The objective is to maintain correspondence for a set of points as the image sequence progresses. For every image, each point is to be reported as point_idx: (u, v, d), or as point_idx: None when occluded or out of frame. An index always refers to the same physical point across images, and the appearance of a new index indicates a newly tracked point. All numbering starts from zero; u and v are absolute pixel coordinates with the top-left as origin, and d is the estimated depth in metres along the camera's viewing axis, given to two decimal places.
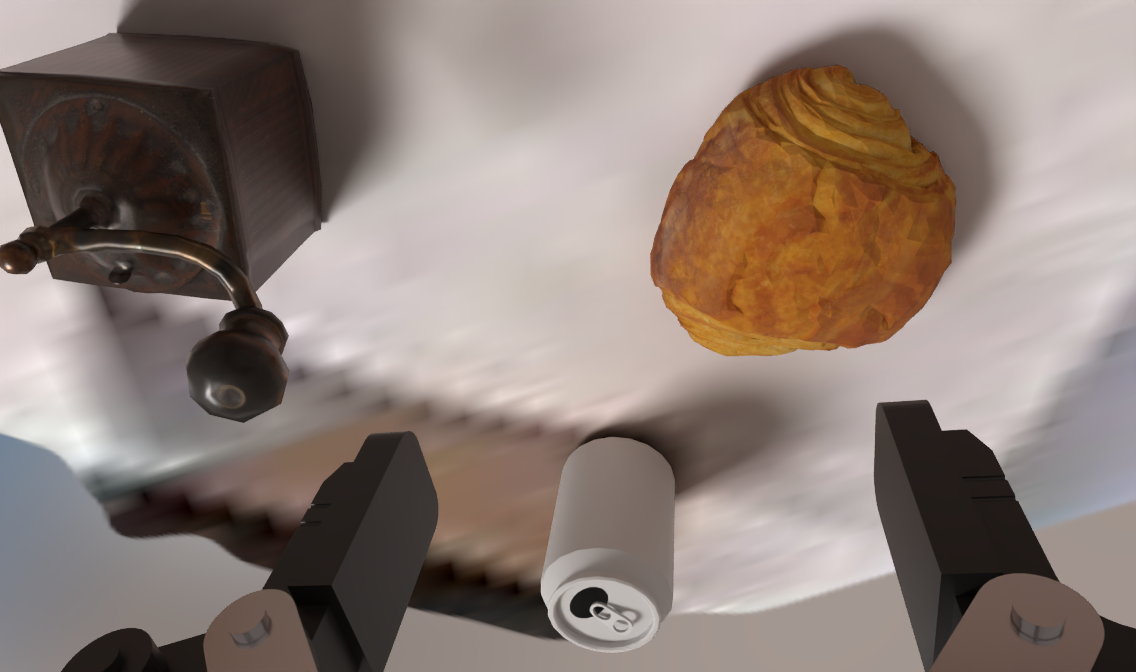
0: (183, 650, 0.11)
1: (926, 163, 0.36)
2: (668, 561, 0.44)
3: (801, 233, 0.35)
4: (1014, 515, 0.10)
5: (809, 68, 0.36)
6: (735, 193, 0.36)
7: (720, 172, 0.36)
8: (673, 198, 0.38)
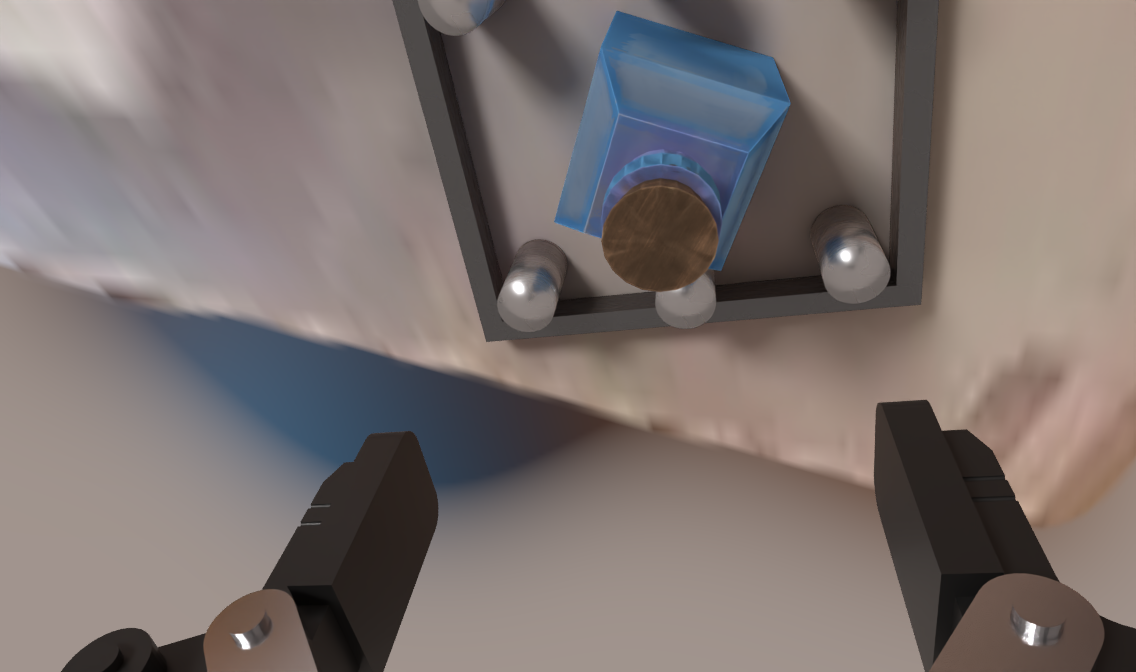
0: (183, 650, 0.11)
1: None
2: None
3: None
4: (1014, 515, 0.10)
5: None
6: None
7: None
8: None
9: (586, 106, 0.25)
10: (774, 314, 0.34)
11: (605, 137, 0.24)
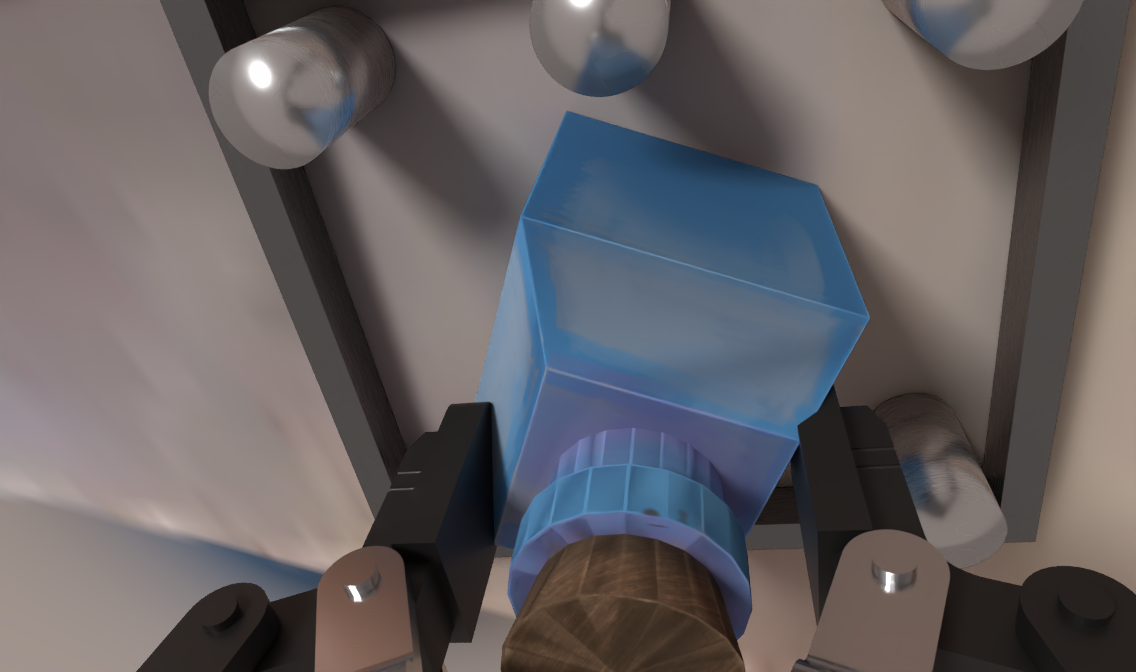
0: (291, 606, 0.11)
1: None
2: None
3: None
4: (896, 481, 0.11)
5: None
6: None
7: None
8: None
9: (499, 312, 0.14)
10: None
11: (525, 396, 0.12)
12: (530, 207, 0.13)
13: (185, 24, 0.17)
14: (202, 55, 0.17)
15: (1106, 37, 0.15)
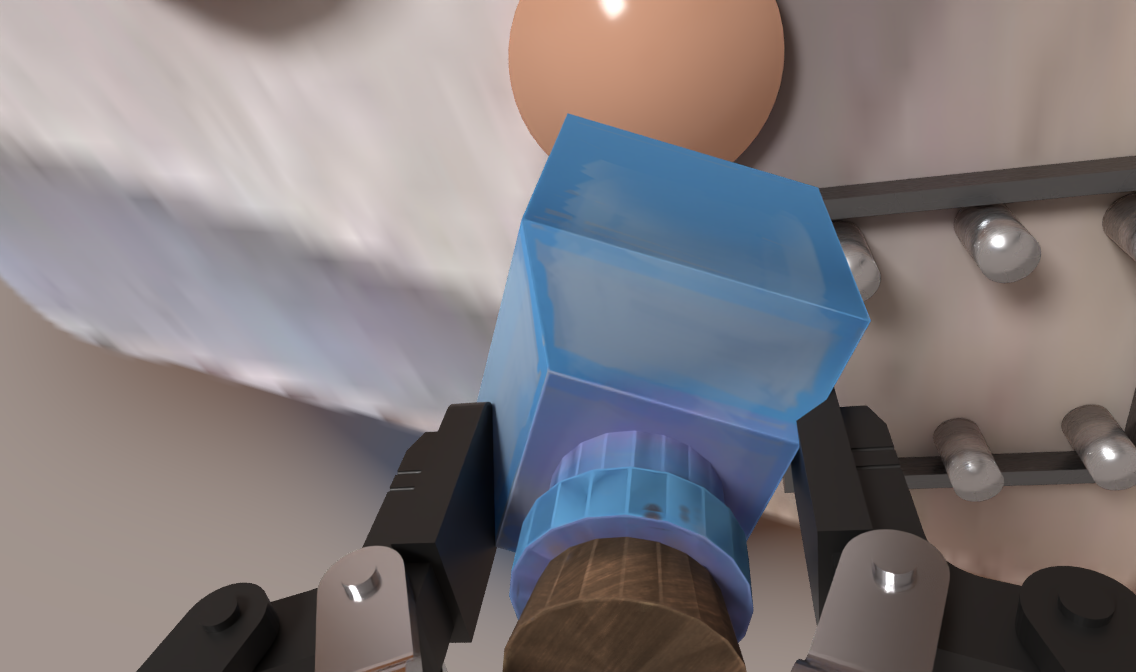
0: (292, 606, 0.11)
1: None
2: None
3: None
4: (896, 481, 0.11)
5: None
6: None
7: None
8: None
9: (500, 314, 0.14)
10: (1029, 483, 0.43)
11: (527, 399, 0.13)
12: (532, 210, 0.14)
13: None
14: None
15: None
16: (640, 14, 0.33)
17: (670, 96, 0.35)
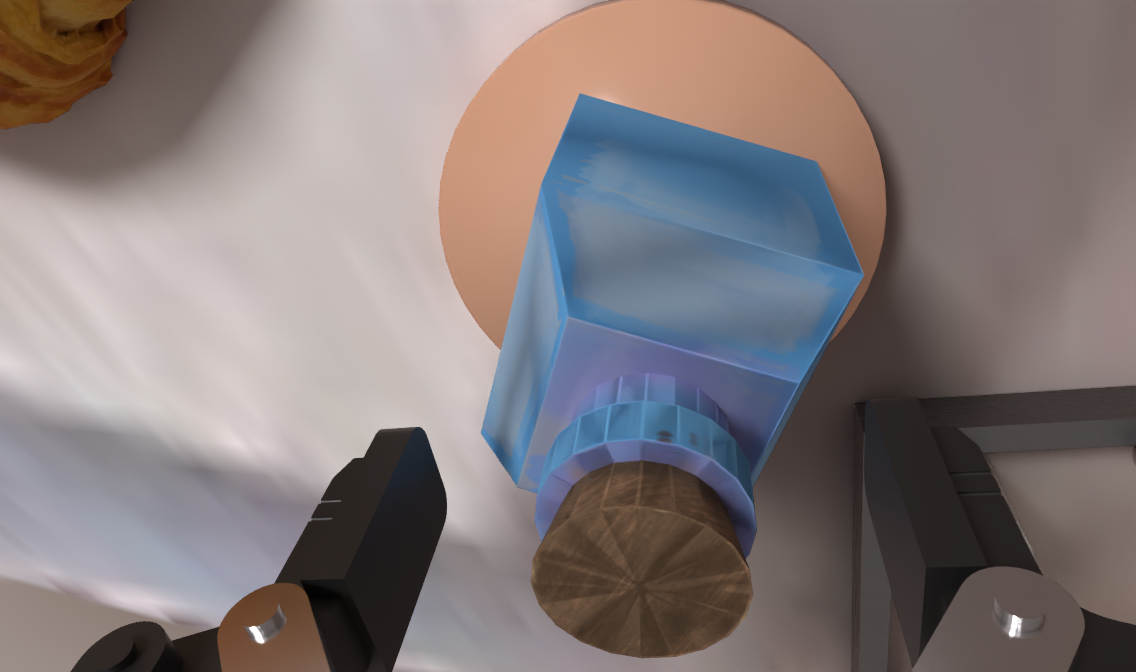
0: (196, 644, 0.11)
1: (44, 59, 0.19)
2: None
3: None
4: (999, 510, 0.10)
5: None
6: None
7: None
8: None
9: (521, 274, 0.15)
10: None
11: (547, 346, 0.14)
12: (550, 176, 0.15)
13: None
14: None
15: None
16: None
17: None
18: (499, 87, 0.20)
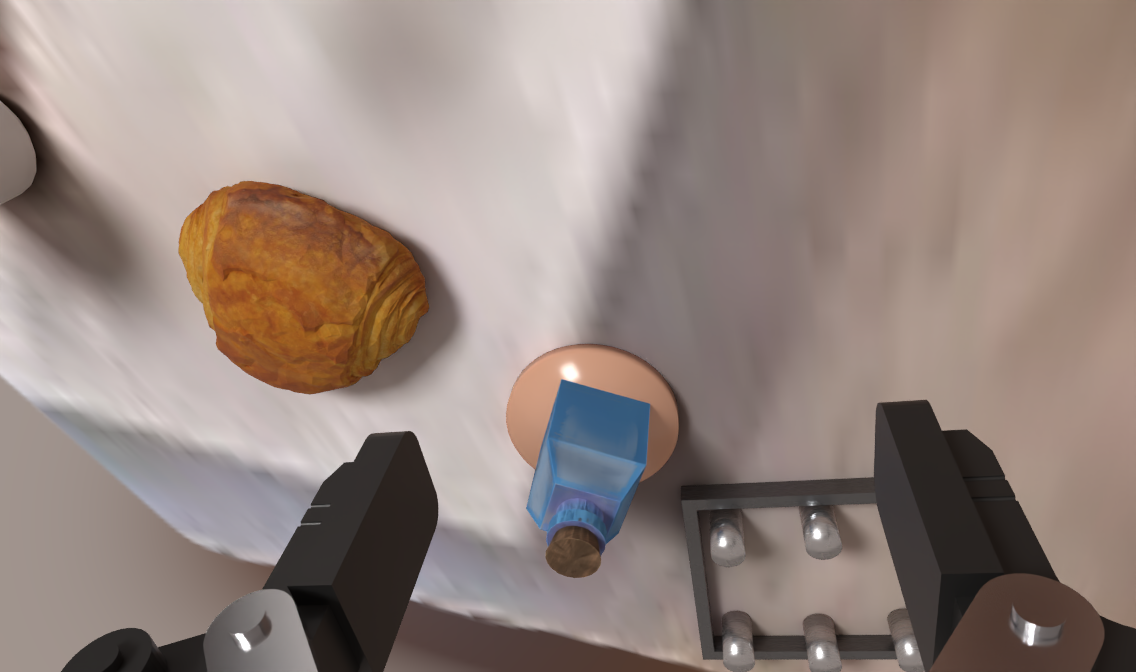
0: (183, 650, 0.11)
1: (369, 370, 0.52)
2: None
3: (300, 320, 0.46)
4: (1014, 515, 0.10)
5: (424, 289, 0.49)
6: (322, 267, 0.45)
7: (337, 252, 0.45)
8: (309, 208, 0.45)
9: (541, 461, 0.48)
10: (867, 658, 0.63)
11: (549, 489, 0.47)
12: (550, 433, 0.47)
13: (688, 515, 0.57)
14: (690, 522, 0.57)
15: None
16: None
17: None
18: (531, 375, 0.53)
